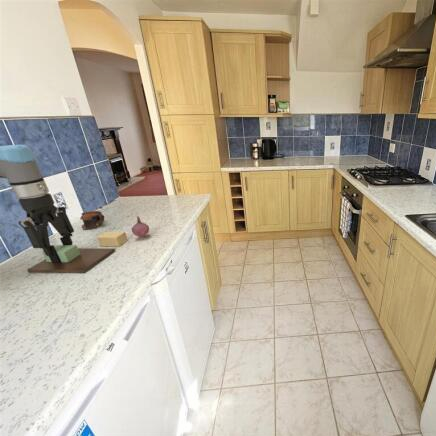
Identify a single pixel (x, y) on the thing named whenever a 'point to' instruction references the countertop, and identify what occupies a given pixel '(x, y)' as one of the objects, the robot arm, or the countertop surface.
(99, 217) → the pottery mug
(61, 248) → the sage pad
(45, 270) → the board
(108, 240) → the sand pad
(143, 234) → the vegetable
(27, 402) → the countertop surface
